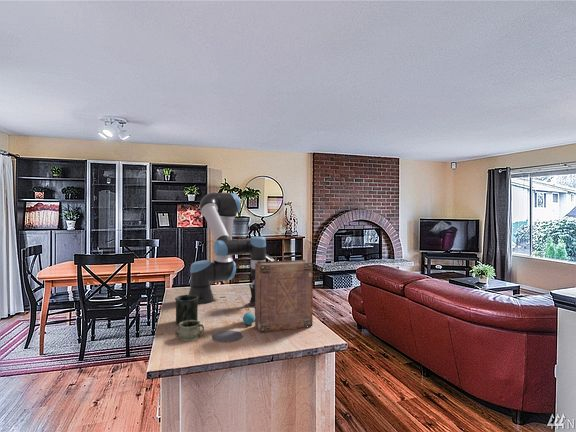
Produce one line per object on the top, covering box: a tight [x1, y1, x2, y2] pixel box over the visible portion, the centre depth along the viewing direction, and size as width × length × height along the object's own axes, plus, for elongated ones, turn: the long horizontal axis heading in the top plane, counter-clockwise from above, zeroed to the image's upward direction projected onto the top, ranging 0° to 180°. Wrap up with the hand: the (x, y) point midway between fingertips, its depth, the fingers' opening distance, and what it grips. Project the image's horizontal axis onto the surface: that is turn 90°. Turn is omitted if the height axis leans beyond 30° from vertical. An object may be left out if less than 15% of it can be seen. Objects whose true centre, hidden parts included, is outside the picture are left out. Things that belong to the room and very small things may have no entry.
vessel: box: [174, 320, 205, 342], centre depth 143 cm, size 12×9×6 cm
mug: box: [174, 294, 199, 325], centre depth 161 cm, size 11×15×12 cm
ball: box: [242, 312, 255, 326], centre depth 161 cm, size 6×6×6 cm
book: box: [254, 259, 314, 334], centre depth 158 cm, size 25×9×30 cm, turn 111°
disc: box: [211, 330, 244, 343], centre depth 145 cm, size 13×13×1 cm
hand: (257, 315), depth 168 cm, fingers closed
